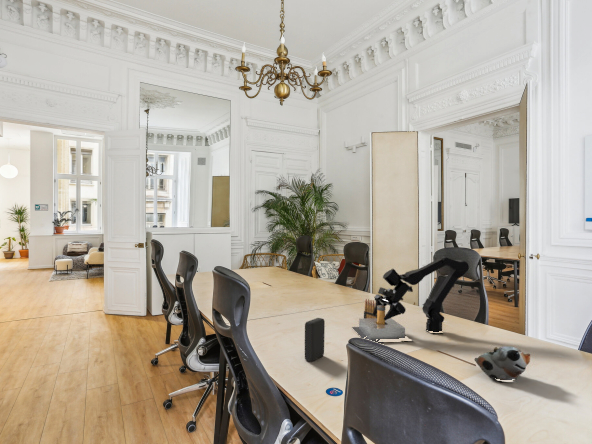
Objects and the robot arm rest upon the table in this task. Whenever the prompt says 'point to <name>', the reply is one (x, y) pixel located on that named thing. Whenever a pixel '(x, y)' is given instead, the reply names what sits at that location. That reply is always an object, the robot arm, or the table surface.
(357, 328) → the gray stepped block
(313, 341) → the card reader
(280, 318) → the table surface
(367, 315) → the ammunition clip
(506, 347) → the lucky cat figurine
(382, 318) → the pin
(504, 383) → the table surface
